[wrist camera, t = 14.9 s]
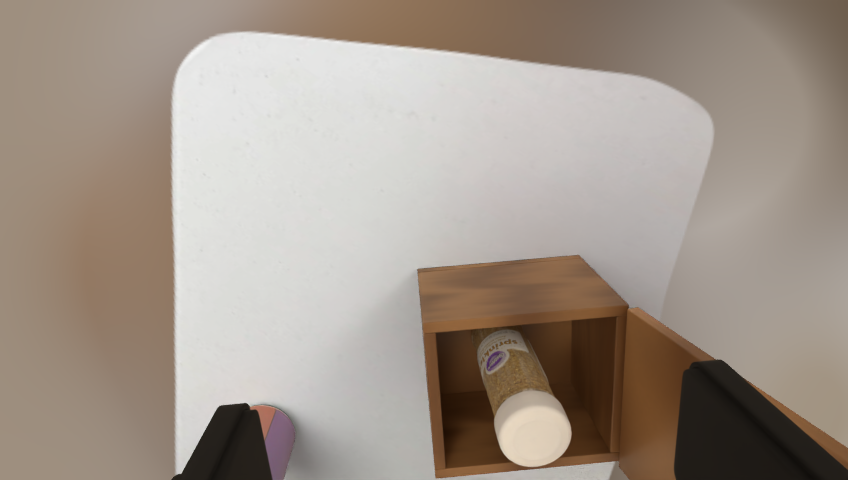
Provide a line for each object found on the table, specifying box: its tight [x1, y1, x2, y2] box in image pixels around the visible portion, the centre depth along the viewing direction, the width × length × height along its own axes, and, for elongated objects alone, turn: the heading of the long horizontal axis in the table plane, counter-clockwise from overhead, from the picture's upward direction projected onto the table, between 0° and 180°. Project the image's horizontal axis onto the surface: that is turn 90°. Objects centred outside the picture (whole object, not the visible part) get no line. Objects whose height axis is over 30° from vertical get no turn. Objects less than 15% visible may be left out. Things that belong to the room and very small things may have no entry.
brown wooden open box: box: [417, 255, 629, 478], centre depth 40 cm, size 14×13×10 cm
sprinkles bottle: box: [471, 325, 572, 467], centre depth 37 cm, size 5×5×14 cm
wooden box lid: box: [619, 307, 848, 480], centre depth 28 cm, size 14×13×5 cm
